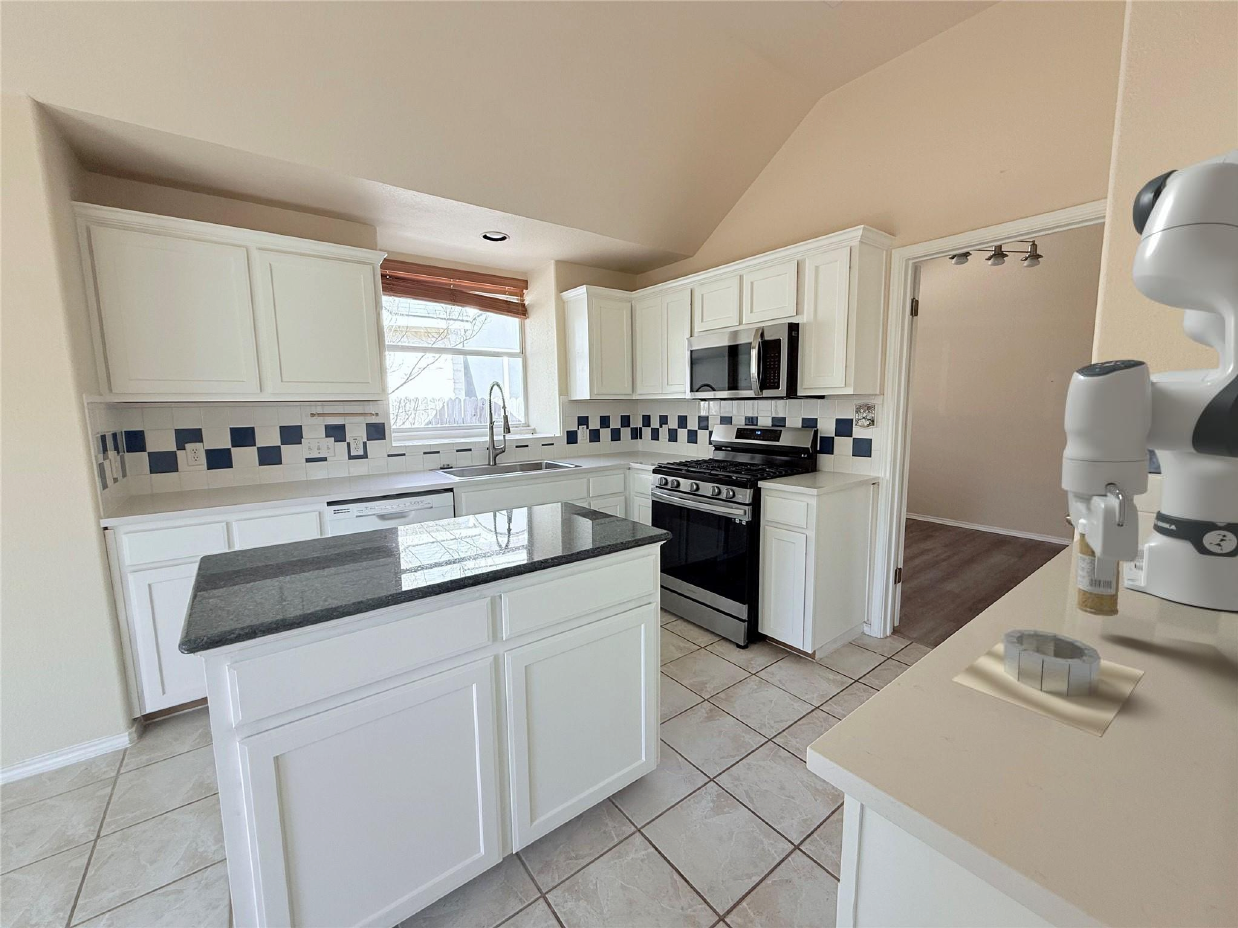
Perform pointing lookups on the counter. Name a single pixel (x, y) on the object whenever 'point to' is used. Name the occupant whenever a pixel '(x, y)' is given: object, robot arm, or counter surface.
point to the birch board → (1070, 710)
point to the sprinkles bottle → (1095, 582)
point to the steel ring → (1051, 662)
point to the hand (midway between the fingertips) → (1098, 572)
